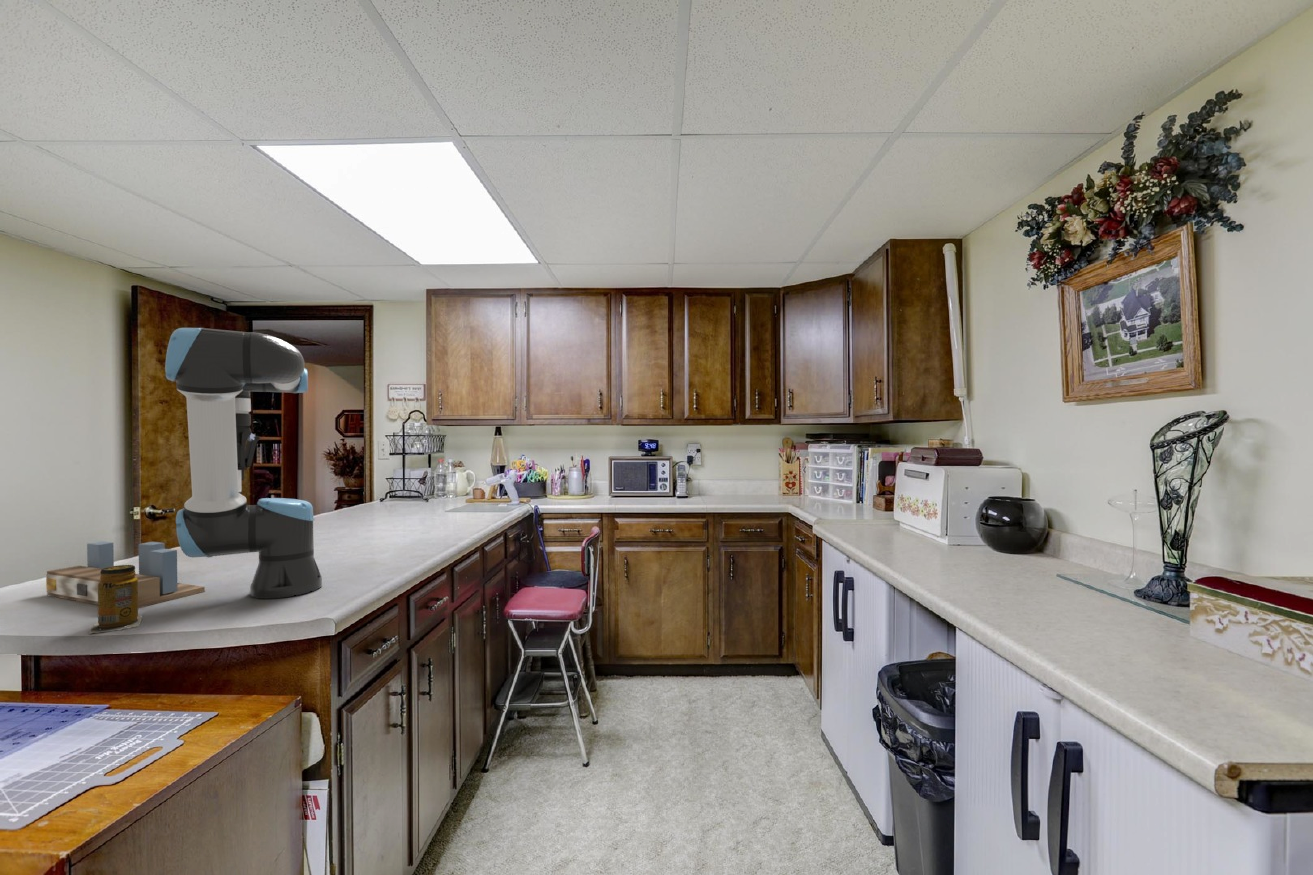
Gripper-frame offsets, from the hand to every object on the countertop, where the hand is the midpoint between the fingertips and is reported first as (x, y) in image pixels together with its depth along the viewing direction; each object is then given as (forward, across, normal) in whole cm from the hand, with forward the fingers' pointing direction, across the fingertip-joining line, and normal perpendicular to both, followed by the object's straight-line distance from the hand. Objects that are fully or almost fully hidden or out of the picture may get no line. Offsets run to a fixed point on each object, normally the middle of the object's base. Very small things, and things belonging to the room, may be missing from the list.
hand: (235, 491), depth 164 cm
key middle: (+21, +23, +3) cm, 31 cm away
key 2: (+21, +27, +16) cm, 38 cm away
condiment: (+23, +42, +29) cm, 56 cm away
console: (+22, +28, +3) cm, 36 cm away
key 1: (+21, +27, -10) cm, 35 cm away
